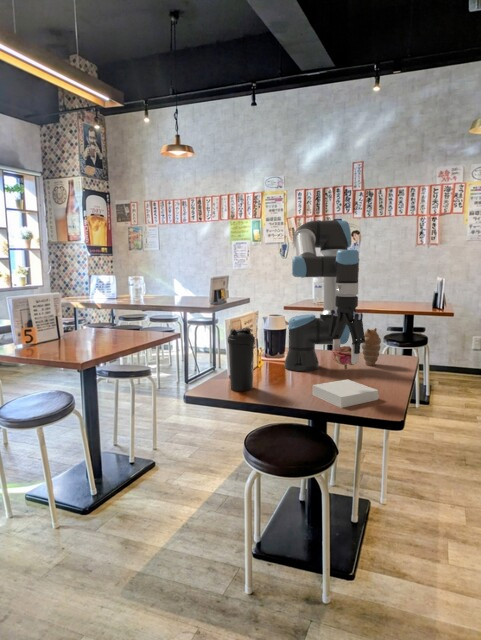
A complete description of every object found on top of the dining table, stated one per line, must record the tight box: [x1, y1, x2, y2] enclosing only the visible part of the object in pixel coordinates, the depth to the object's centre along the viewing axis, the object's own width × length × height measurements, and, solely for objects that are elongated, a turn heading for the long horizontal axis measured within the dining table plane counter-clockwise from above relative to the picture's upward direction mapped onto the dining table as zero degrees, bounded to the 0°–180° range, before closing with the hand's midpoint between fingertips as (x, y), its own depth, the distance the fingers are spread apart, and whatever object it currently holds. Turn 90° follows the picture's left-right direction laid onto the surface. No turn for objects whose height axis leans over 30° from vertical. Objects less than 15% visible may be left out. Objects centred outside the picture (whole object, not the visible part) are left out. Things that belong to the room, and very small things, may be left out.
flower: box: [331, 345, 357, 370], centre depth 157 cm, size 10×9×8 cm
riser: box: [312, 378, 379, 409], centre depth 159 cm, size 16×16×4 cm
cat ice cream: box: [361, 327, 382, 367], centre depth 201 cm, size 9×8×18 cm
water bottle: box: [227, 327, 256, 392], centre depth 172 cm, size 10×10×23 cm
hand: (345, 359), depth 157 cm, fingers closed on flower, 9 cm apart
